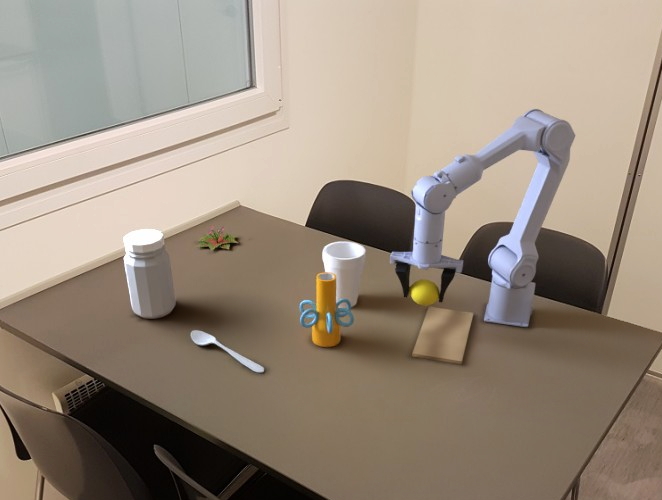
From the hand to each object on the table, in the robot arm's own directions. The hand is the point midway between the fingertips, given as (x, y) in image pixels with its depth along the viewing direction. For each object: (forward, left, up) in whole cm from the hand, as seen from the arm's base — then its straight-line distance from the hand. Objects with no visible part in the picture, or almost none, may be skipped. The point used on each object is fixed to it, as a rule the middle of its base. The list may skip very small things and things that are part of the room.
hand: (423, 297), depth 146 cm
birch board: (-5, 0, -8) cm, 10 cm away
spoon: (+36, +20, -9) cm, 42 cm away
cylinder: (+18, +9, -9) cm, 22 cm away
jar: (+59, +8, -9) cm, 61 cm away
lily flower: (+60, -29, -9) cm, 68 cm away
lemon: (0, 0, -2) cm, 2 cm away
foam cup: (+19, -8, -9) cm, 23 cm away
